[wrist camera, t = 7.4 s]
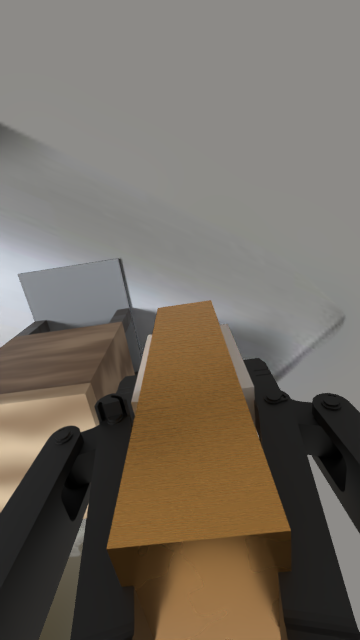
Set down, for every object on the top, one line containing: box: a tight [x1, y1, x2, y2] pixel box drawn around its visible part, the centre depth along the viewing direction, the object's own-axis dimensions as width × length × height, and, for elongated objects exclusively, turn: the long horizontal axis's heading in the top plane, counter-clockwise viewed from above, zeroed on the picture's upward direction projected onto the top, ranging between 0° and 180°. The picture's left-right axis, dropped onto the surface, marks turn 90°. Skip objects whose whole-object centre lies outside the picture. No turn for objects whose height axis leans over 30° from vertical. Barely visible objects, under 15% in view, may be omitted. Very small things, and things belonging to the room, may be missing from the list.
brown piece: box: [107, 300, 291, 640], centre depth 16 cm, size 26×6×14 cm, turn 9°
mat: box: [18, 259, 142, 372], centre depth 50 cm, size 36×16×1 cm, turn 9°
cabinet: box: [0, 308, 139, 519], centre depth 37 cm, size 15×17×24 cm
